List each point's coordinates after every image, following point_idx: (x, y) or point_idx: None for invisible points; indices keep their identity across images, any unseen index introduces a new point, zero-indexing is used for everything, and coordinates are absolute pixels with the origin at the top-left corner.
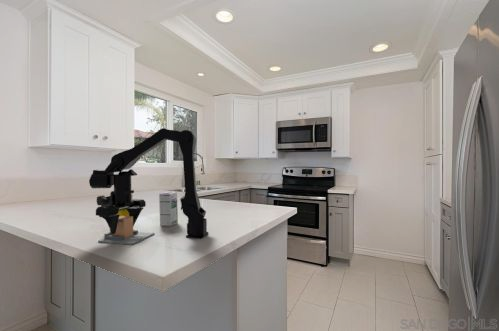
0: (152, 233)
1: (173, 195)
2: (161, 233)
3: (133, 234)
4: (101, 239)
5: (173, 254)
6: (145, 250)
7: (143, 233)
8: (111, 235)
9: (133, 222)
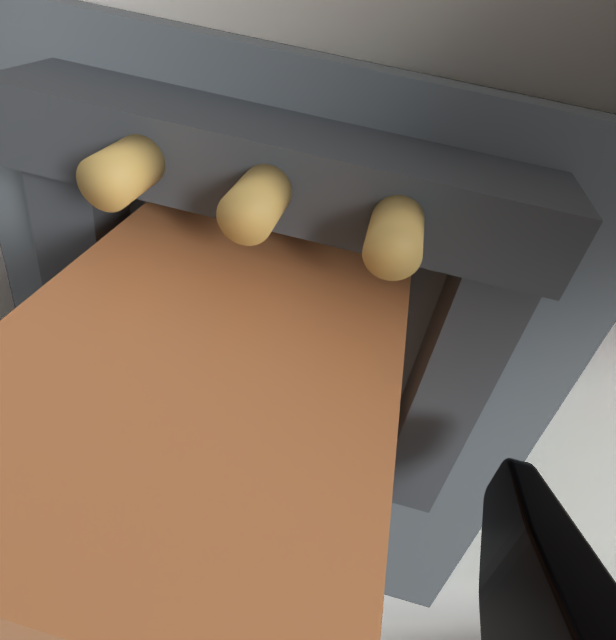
0: (407, 594)
1: None
2: (468, 628)
3: None
4: (13, 4)
5: None
6: None
7: (414, 525)
8: (68, 228)
9: (481, 607)
